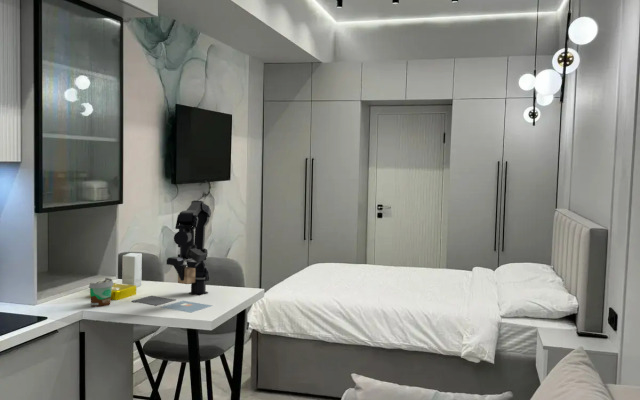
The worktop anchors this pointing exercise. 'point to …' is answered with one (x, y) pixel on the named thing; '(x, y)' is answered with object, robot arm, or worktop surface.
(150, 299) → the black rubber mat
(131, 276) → the skincare box
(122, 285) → the element tile
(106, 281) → the food container
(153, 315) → the worktop surface
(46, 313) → the worktop surface
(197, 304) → the card
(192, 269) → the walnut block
